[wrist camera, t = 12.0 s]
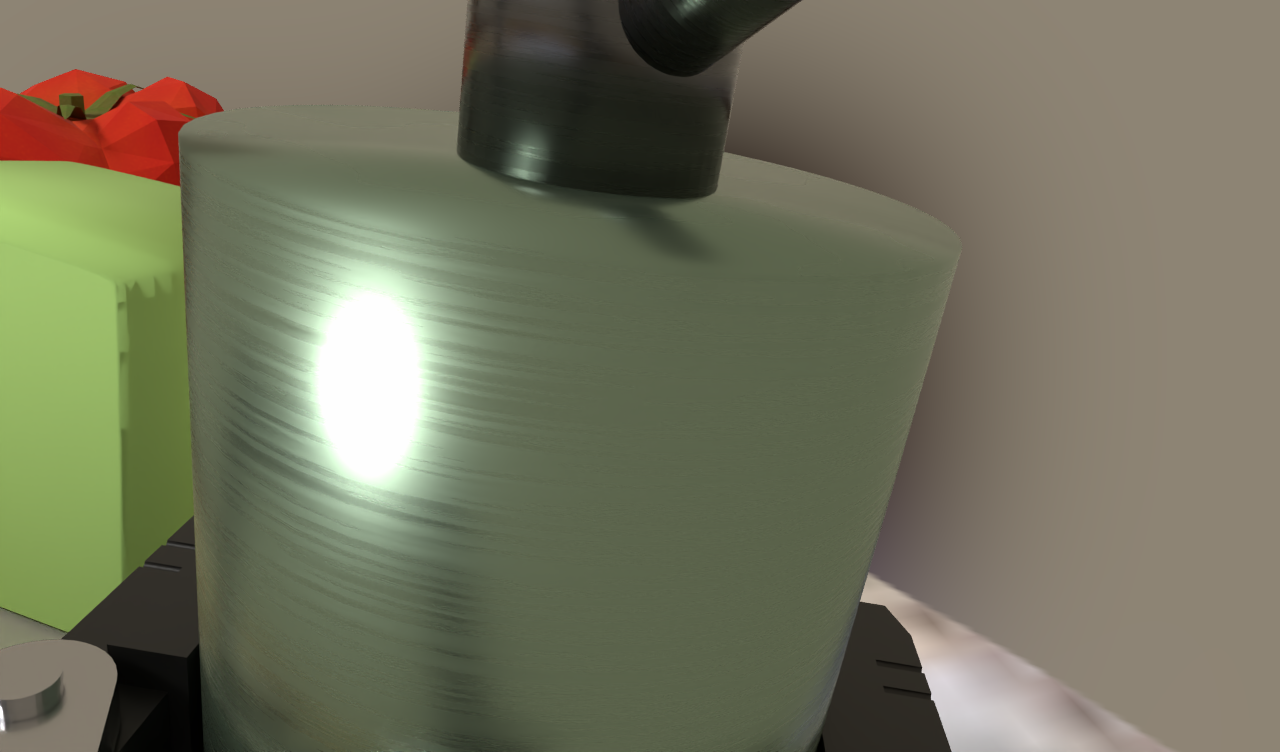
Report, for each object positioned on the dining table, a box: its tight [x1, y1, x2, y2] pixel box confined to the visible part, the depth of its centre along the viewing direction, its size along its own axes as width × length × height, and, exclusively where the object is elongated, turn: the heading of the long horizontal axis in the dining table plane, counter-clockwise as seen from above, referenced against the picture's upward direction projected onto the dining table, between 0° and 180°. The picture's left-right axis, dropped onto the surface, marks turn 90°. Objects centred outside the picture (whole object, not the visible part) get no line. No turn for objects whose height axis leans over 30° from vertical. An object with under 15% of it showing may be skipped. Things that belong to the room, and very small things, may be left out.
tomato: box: [0, 69, 224, 186], centre depth 35 cm, size 14×13×10 cm
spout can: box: [178, 0, 962, 752], centre depth 8 cm, size 6×6×15 cm
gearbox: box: [0, 161, 194, 632], centre depth 24 cm, size 18×10×10 cm, turn 72°
